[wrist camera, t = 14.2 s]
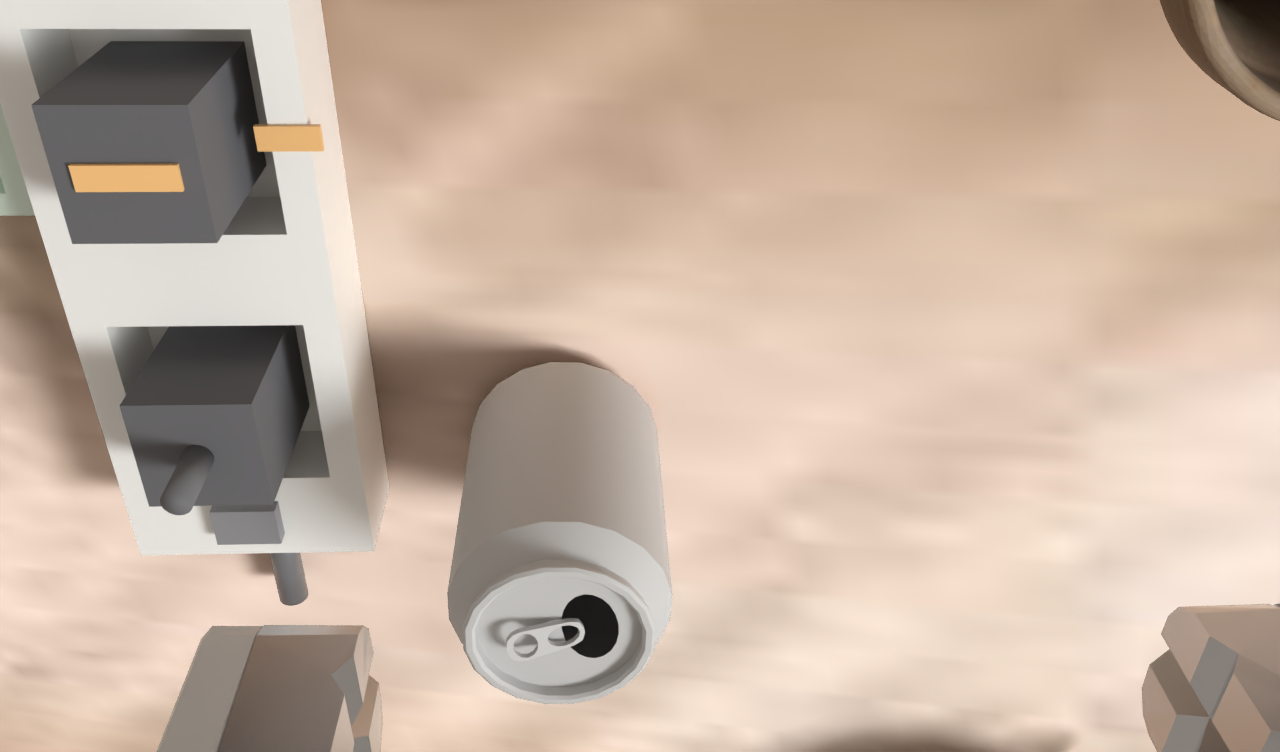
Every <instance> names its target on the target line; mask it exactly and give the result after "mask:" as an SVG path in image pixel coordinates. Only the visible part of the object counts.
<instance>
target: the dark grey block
mask: <svg viewBox="0 0 1280 752" xmlns="http://www.w3.org/2000/svg"><path fill="white" fill-rule="evenodd" d="M31 106H32V109H33V113H34V116H35V120H36V123H37V126H38V130H39V133H40V136H41V140H42V143H43V147H44V150H45V153H46V157H47V160H48V164H49V167H50V170H51V174H52V177H53V180H54V184H55V187H56V191H57V194H58V197H59V201H60V204H61V208H62V211H63V214H64V218H65V221H66V225H67V228H68V231H69V235H70V238H71V241H72V244H163V243H218V241H219V240H220V238H221V237H222V235H223V233H224V232H225V230H226V229H227V227H228V226H229V224H230V222H231V221H232V219H233V218H234V216H235V214H236V213H237V211H238V210H239V208H240V206H241V205H242V203H243V202H244V200H245V199H246V197H247V195H248V194H249V192H250V191H251V189H252V187H253V186H254V184H255V183H256V181H257V180H258V178H259V176H260V175H261V173H262V172H263V170H264V168H265V167H266V165H267V164H266V159H265V153H264V152H258V150H257V145H256V140H255V134H254V129H253V126H254V125H255V124H259V120H258V115H257V109H256V104H255V98H254V93H253V87H252V81H251V76H250V70H249V65H248V59H247V54H246V48H245V43H244V41H110V42H109V43H108V44H106V45H105V46H104V47H103V48H102V49H100V50H99V51H98V52H97V53H95V54H94V55H93V56H92V57H90V58H89V59H88V60H87V61H85V62H84V63H83V64H82V65H80V66H79V67H78V68H77V69H75V70H74V71H73V72H72V73H70V74H69V75H68V76H67V77H65V78H64V79H63V80H62V81H60V82H59V83H58V84H57V85H56V86H54V87H53V88H52V89H51V90H49V91H48V92H47V93H46V94H44V95H43V96H42V97H41V98H39V99H38V100H37V101H36V102H34V103H33V104H32V105H31Z"/></svg>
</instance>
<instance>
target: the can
mask: <svg viewBox="0 0 1280 752" xmlns="http://www.w3.org/2000/svg"><path fill="white" fill-rule="evenodd" d="M671 602H672V588H671V577H670V566H669V555H668V544H667V533H666V522H665V511H664V500H663V490H662V479H661V468H660V457H659V446H658V435H657V428H656V425H655V422H654V419H653V416H652V412H651V409H650V406H649V405H648V404H647V403H646V401H645V400H644V399H643V398H642V396H641V395H640V394H639V393H638V391H637V390H636V389H635V388H634V386H632V385H631V384H629V383H628V382H626V381H624V380H623V379H621V378H620V377H618V376H617V375H615V374H614V373H612V372H610V371H608V370H605V369H601V368H598V367H594V366H591V365H588V364H584V363H576V362H549V363H545V364H541V365H537V366H533V367H529V368H525V369H522V370H520V371H518V372H517V373H515V374H513V375H512V376H510V377H508V378H507V379H505V380H503V381H502V382H500V383H498V384H497V385H496V386H495V387H494V389H493V390H492V391H491V392H490V393H489V394H488V396H487V397H486V398H485V399H484V400H483V401H482V403H481V404H480V407H479V409H478V412H477V415H476V418H475V420H474V423H473V426H472V432H471V439H470V445H469V452H468V459H467V466H466V472H465V479H464V486H463V492H462V499H461V506H460V513H459V519H458V526H457V533H456V540H455V546H454V553H453V560H452V566H451V573H450V580H449V587H448V609H449V620H450V622H451V624H452V625H453V627H454V629H455V631H456V633H457V635H458V637H459V639H460V641H461V643H462V644H463V648H464V651H465V653H466V655H467V657H468V659H469V661H470V663H471V664H472V666H473V668H474V670H475V671H476V672H478V673H479V674H480V675H481V676H482V677H483V678H484V679H485V680H486V681H487V682H489V683H490V684H491V685H492V686H494V687H496V688H498V689H500V690H502V691H504V692H506V693H508V694H510V695H512V696H514V697H516V698H520V699H524V700H529V701H534V702H538V703H543V704H575V703H579V702H584V701H588V700H593V699H598V698H601V697H603V696H605V695H607V694H610V693H612V692H614V691H616V690H618V689H620V688H622V687H624V686H626V685H627V684H628V683H629V682H630V681H631V680H632V679H633V678H635V677H636V676H637V675H638V674H639V673H640V672H641V671H642V670H643V669H644V668H645V666H646V664H647V662H648V660H649V658H650V657H651V655H652V653H653V651H654V646H655V645H656V644H657V643H658V641H659V639H660V638H661V636H662V634H663V632H664V630H665V628H666V626H667V625H668V623H669V621H670V613H671Z"/></svg>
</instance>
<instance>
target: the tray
mask: <svg viewBox="0 0 1280 752" xmlns="http://www.w3.org/2000/svg"><path fill="white" fill-rule="evenodd" d="M0 216H35V214H34V210H33V207H32V204H31V201H30V198H29V194H28V191H27V188H26V185H25V182H24V178H23V175H22V172H21V169H20V165H19V162H18V159H17V156H16V153H15V149H14V146H13V143H12V140H11V137H10V133H9V130H8V127H7V124H6V120H5V117H4V114H3V111H2V108H1V104H0Z"/></svg>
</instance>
